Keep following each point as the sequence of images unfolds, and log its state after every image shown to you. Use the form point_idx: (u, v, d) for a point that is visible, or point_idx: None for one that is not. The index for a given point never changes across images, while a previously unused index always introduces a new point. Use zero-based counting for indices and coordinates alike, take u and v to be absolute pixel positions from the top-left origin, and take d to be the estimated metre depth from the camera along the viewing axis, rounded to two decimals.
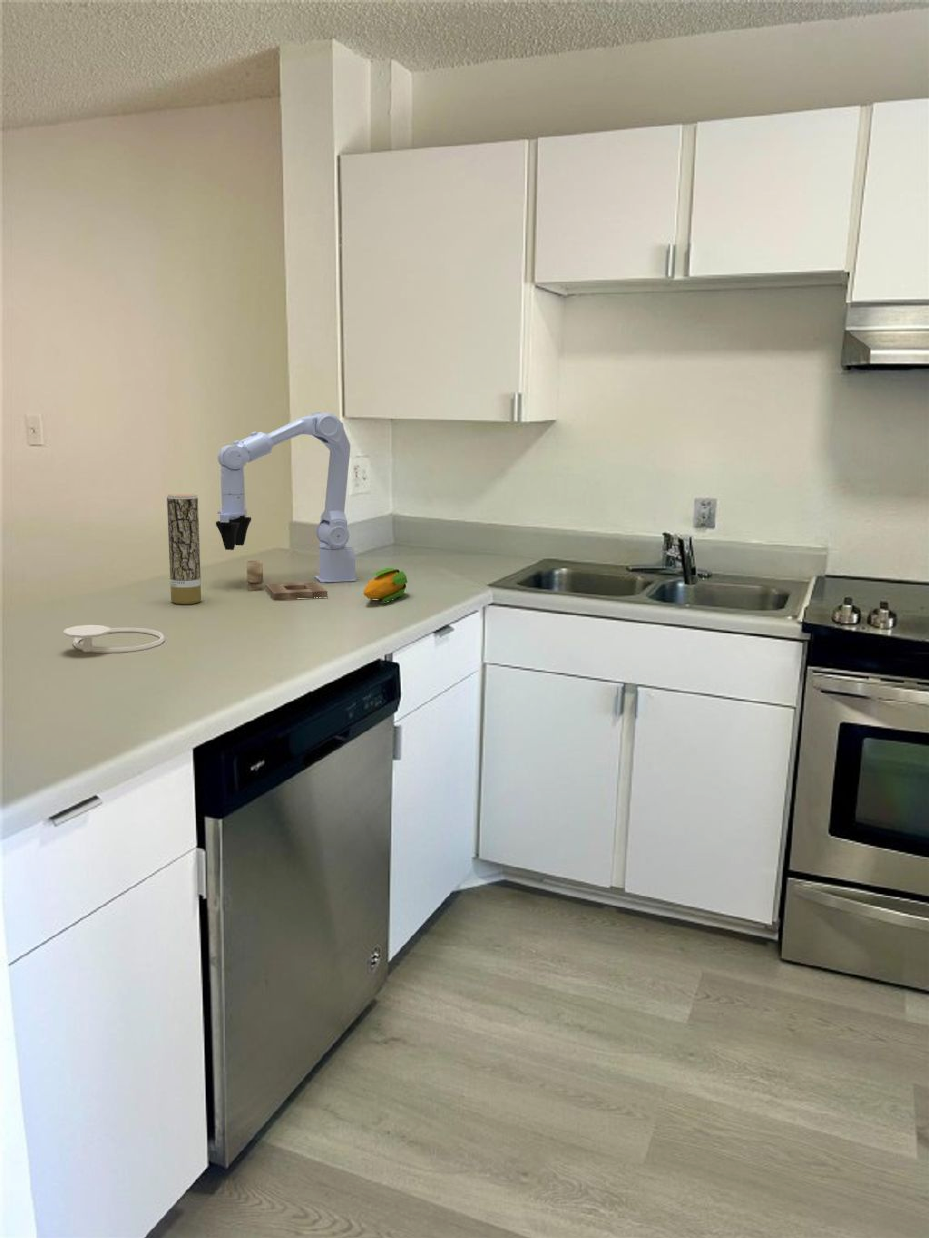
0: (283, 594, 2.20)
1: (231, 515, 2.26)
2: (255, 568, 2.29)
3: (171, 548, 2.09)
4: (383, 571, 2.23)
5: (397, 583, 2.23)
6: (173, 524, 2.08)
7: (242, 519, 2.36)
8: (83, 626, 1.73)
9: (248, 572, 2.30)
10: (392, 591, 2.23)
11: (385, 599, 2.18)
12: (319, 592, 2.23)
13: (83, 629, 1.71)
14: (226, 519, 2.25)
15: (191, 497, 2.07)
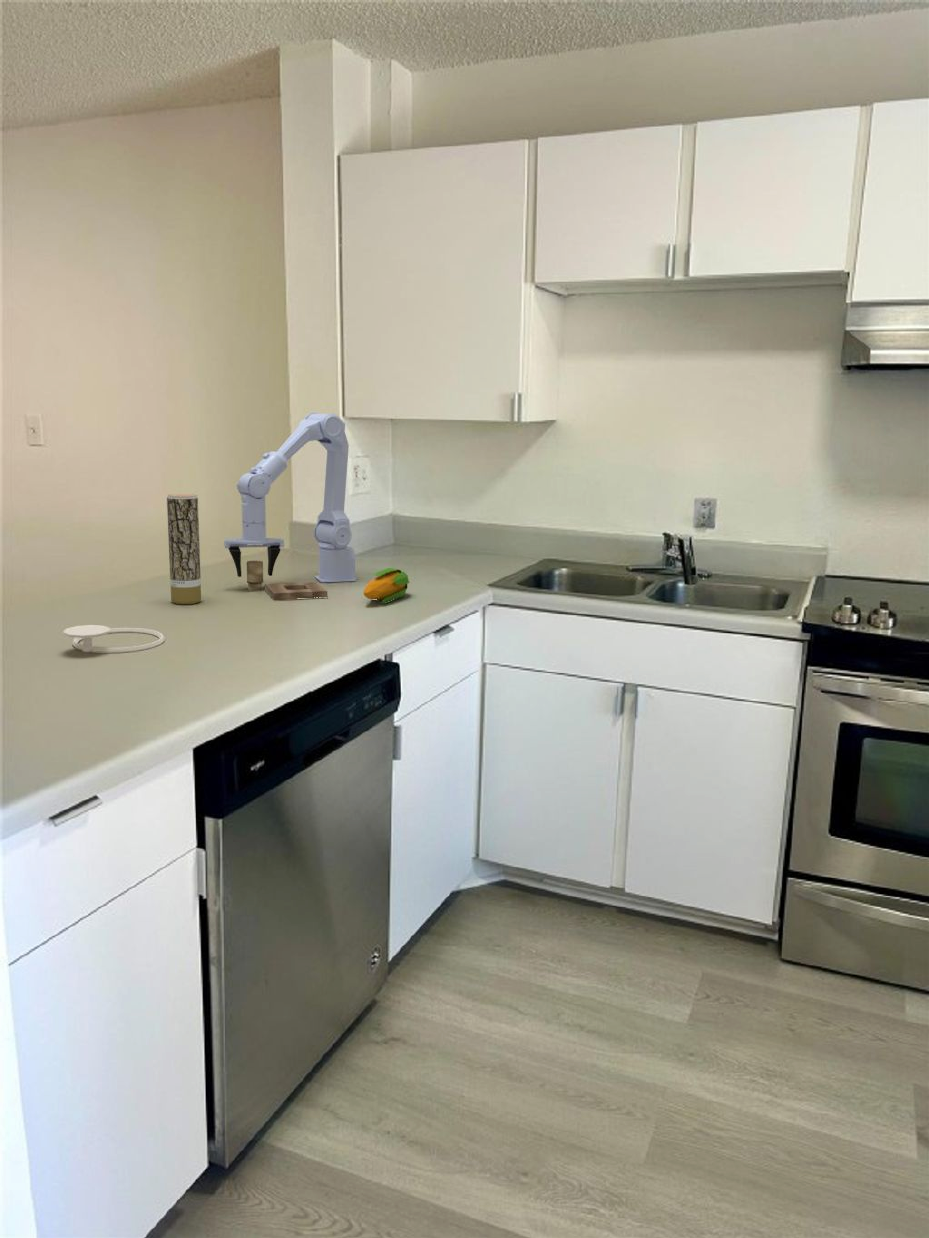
0: (283, 594, 2.20)
1: (233, 542, 2.26)
2: (255, 568, 2.29)
3: (171, 548, 2.09)
4: (384, 571, 2.22)
5: (398, 584, 2.23)
6: (173, 524, 2.08)
7: (269, 549, 2.31)
8: (83, 626, 1.73)
9: (248, 572, 2.30)
10: (392, 591, 2.23)
11: (385, 599, 2.18)
12: (319, 592, 2.23)
13: (83, 629, 1.71)
14: (225, 545, 2.26)
15: (191, 497, 2.07)
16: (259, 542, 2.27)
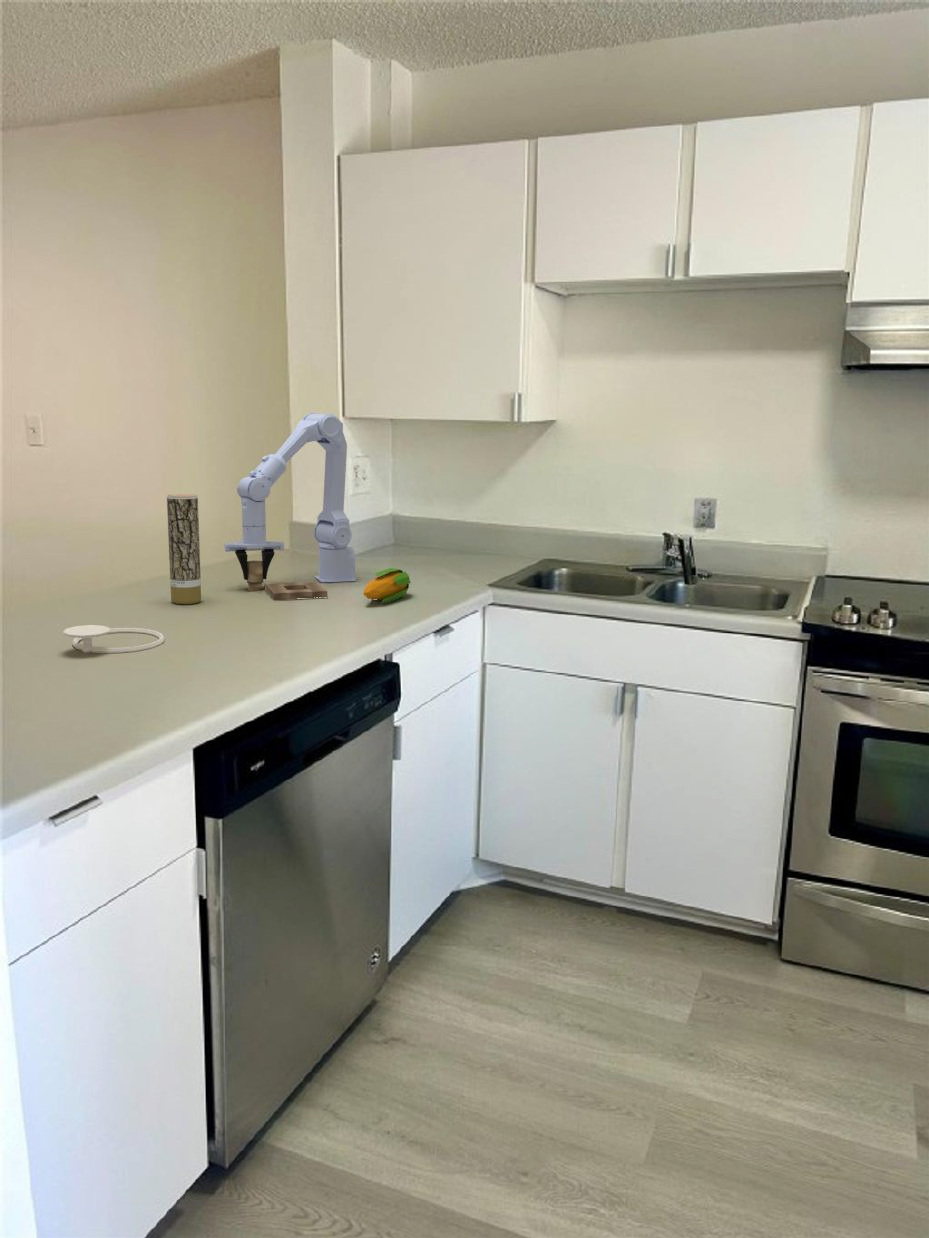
0: (283, 594, 2.20)
1: (233, 545, 2.27)
2: (255, 568, 2.29)
3: (171, 548, 2.09)
4: (385, 571, 2.22)
5: (399, 584, 2.23)
6: (173, 524, 2.08)
7: (264, 552, 2.30)
8: (83, 626, 1.73)
9: (248, 572, 2.30)
10: (393, 592, 2.23)
11: (385, 599, 2.18)
12: (319, 592, 2.23)
13: (83, 629, 1.71)
14: (225, 548, 2.27)
15: (191, 497, 2.07)
16: (259, 545, 2.27)
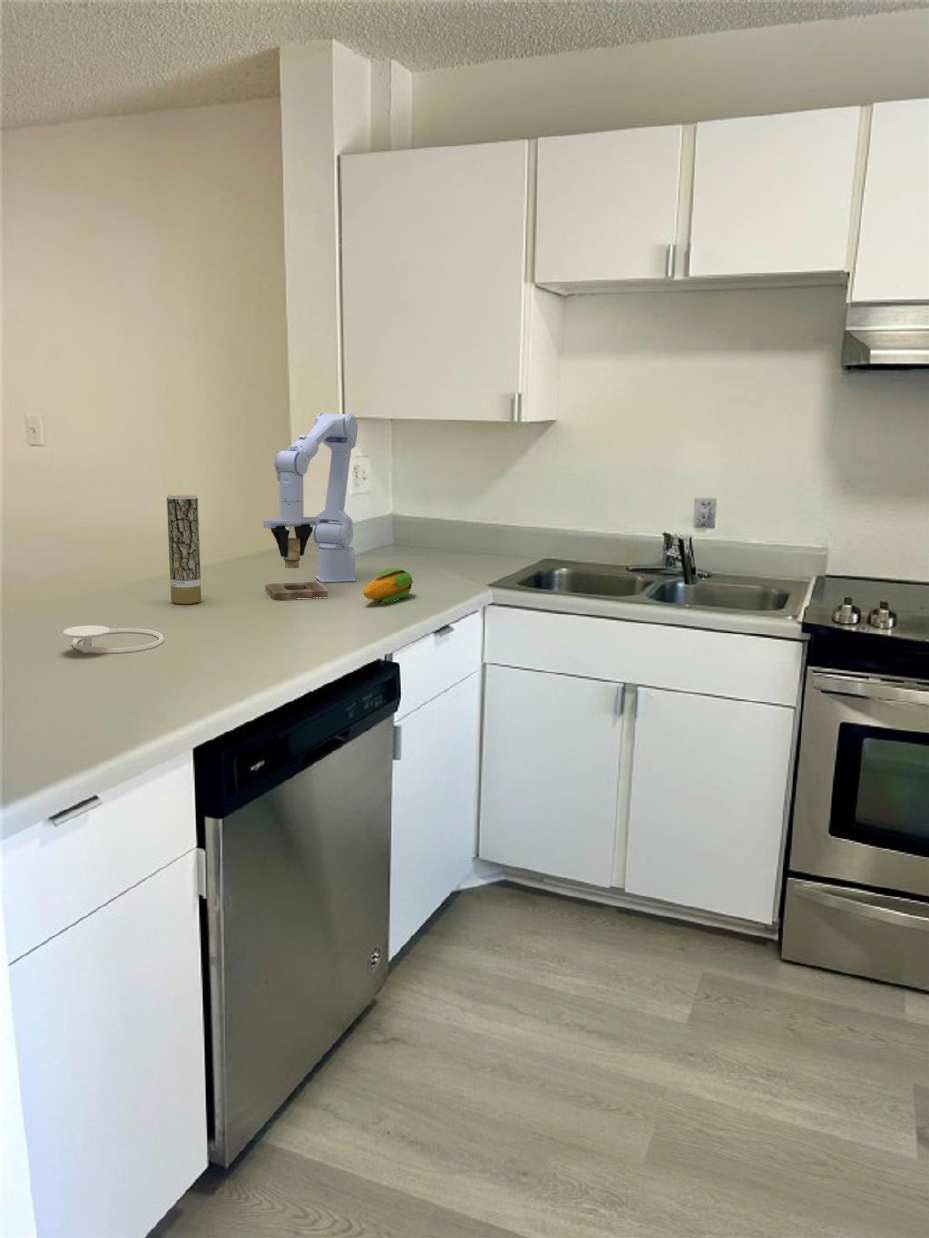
0: (283, 594, 2.20)
1: (274, 522, 2.19)
2: (296, 545, 2.24)
3: (171, 548, 2.09)
4: (386, 572, 2.22)
5: (400, 584, 2.22)
6: (173, 524, 2.08)
7: (301, 528, 2.25)
8: (82, 627, 1.73)
9: None
10: (394, 592, 2.22)
11: (385, 600, 2.18)
12: (319, 592, 2.23)
13: (83, 630, 1.70)
14: (266, 525, 2.19)
15: (191, 497, 2.07)
16: (300, 521, 2.22)
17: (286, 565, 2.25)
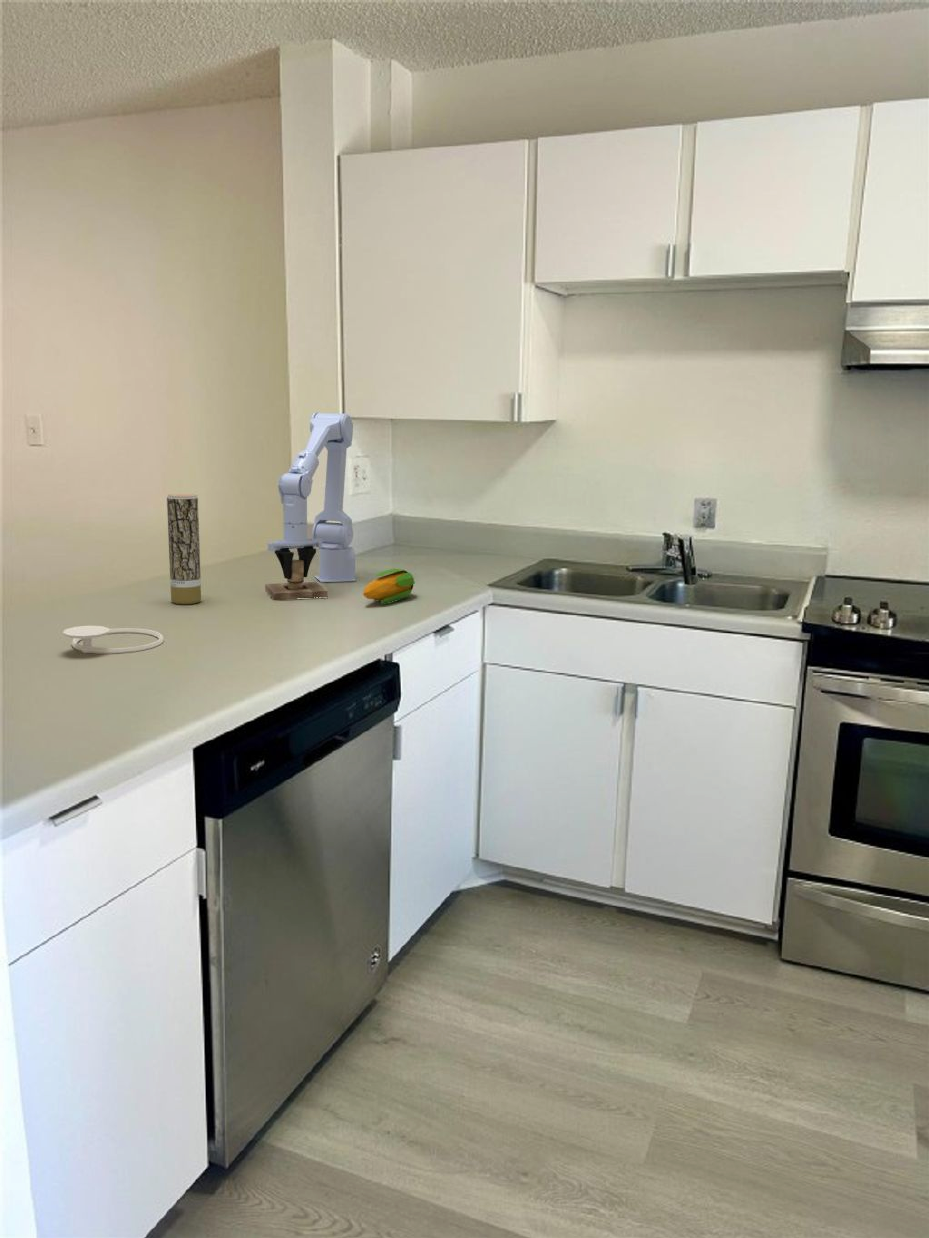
0: (283, 594, 2.20)
1: (279, 544, 2.20)
2: (300, 567, 2.25)
3: (171, 548, 2.09)
4: (387, 572, 2.22)
5: (401, 584, 2.22)
6: (173, 524, 2.08)
7: (305, 550, 2.26)
8: (82, 627, 1.73)
9: None
10: (395, 592, 2.22)
11: (385, 600, 2.18)
12: (319, 592, 2.23)
13: (82, 630, 1.70)
14: (271, 548, 2.19)
15: (191, 497, 2.07)
16: (304, 543, 2.23)
17: (290, 587, 2.26)
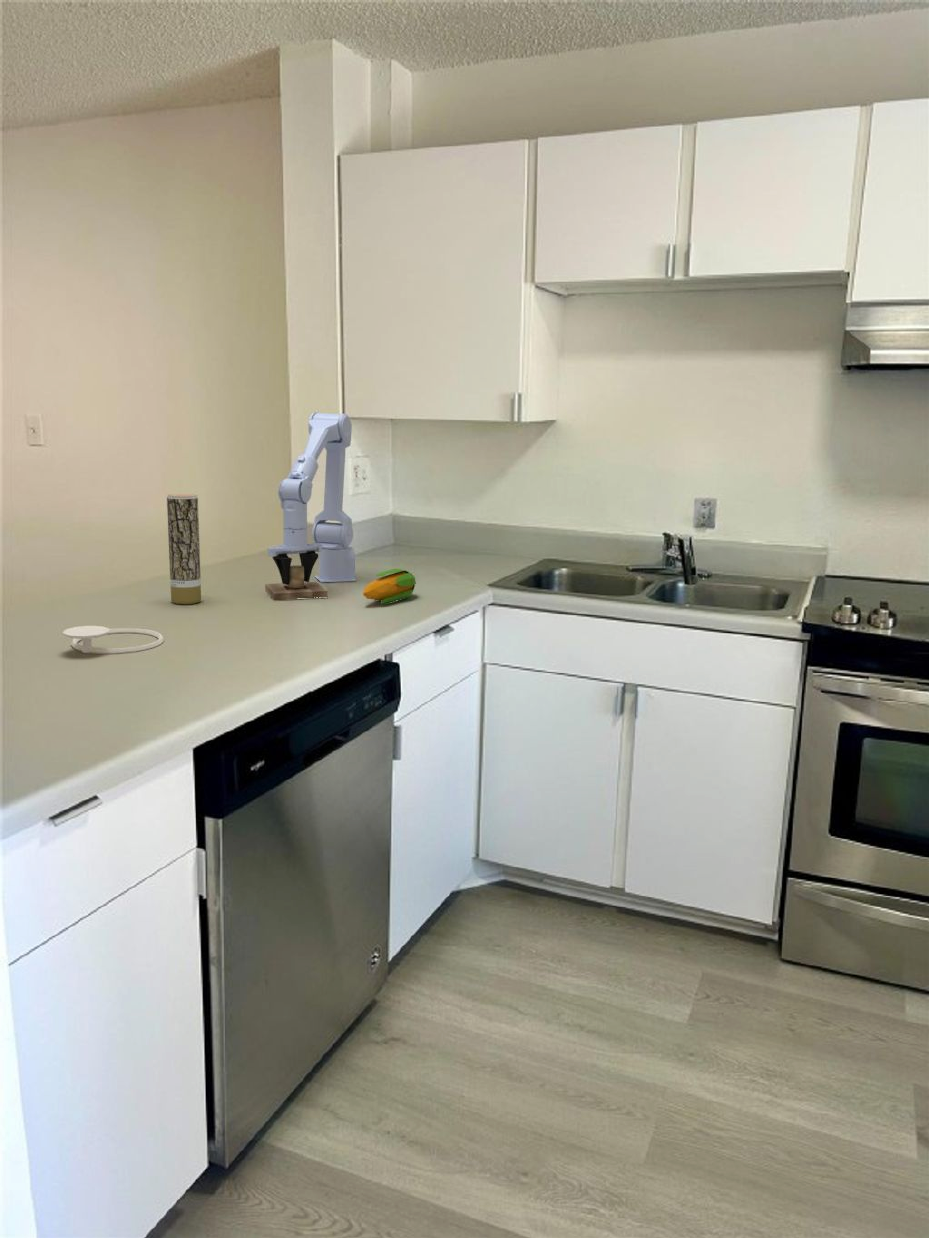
0: (283, 594, 2.20)
1: (279, 549, 2.20)
2: (300, 573, 2.25)
3: (171, 548, 2.09)
4: (387, 572, 2.22)
5: (401, 585, 2.22)
6: (173, 524, 2.08)
7: (307, 555, 2.26)
8: (82, 627, 1.72)
9: (292, 577, 2.25)
10: (395, 592, 2.22)
11: (385, 600, 2.17)
12: (319, 592, 2.23)
13: (82, 630, 1.70)
14: (271, 553, 2.20)
15: (191, 497, 2.07)
16: (304, 548, 2.23)
17: None
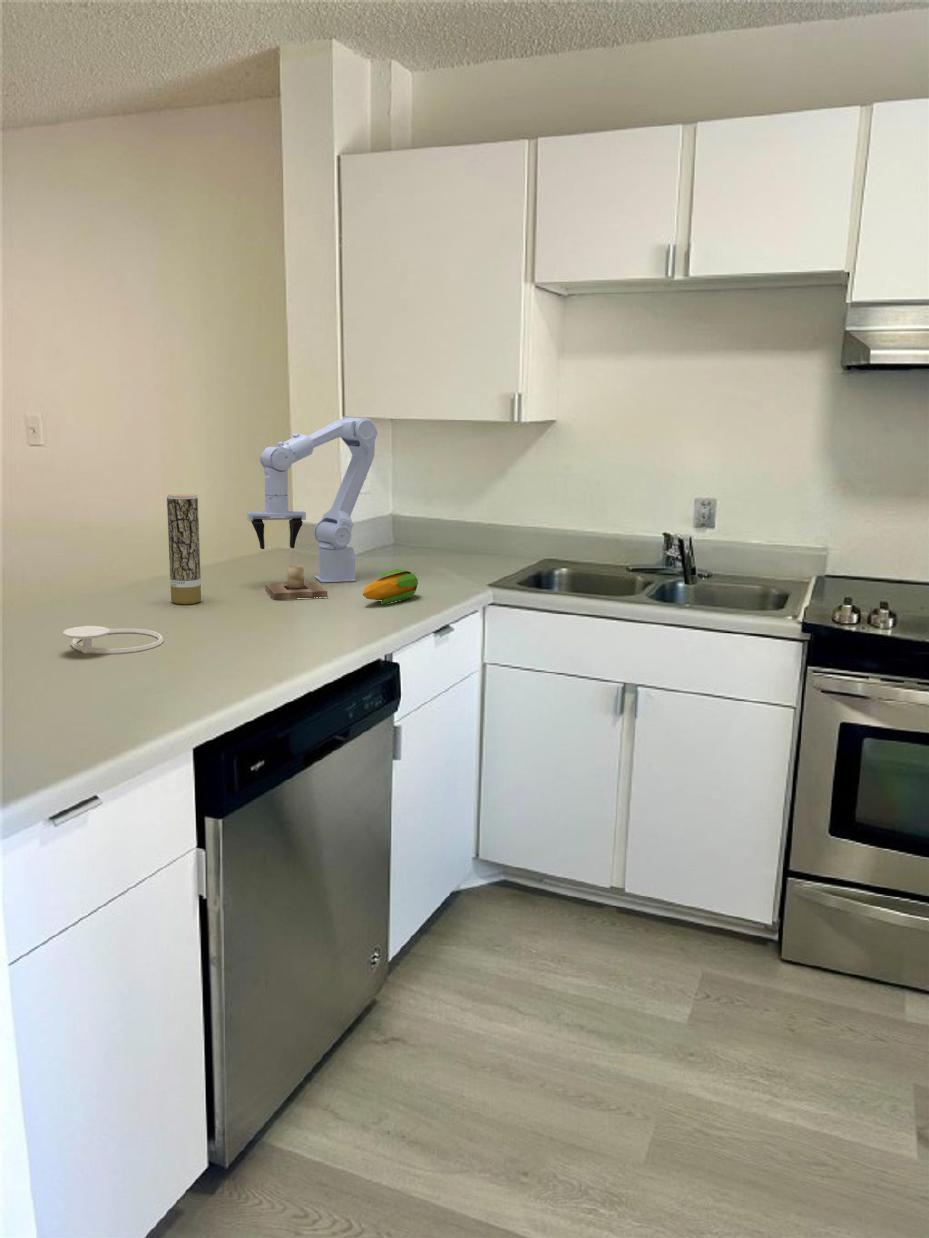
0: (283, 594, 2.20)
1: (256, 514, 2.30)
2: (300, 573, 2.25)
3: (171, 548, 2.09)
4: (389, 572, 2.21)
5: (402, 585, 2.21)
6: (173, 524, 2.08)
7: (292, 522, 2.34)
8: (82, 627, 1.72)
9: (292, 578, 2.25)
10: (396, 593, 2.21)
11: (385, 600, 2.17)
12: (319, 592, 2.23)
13: (82, 630, 1.70)
14: (248, 517, 2.30)
15: (191, 497, 2.07)
16: (282, 514, 2.31)
17: None
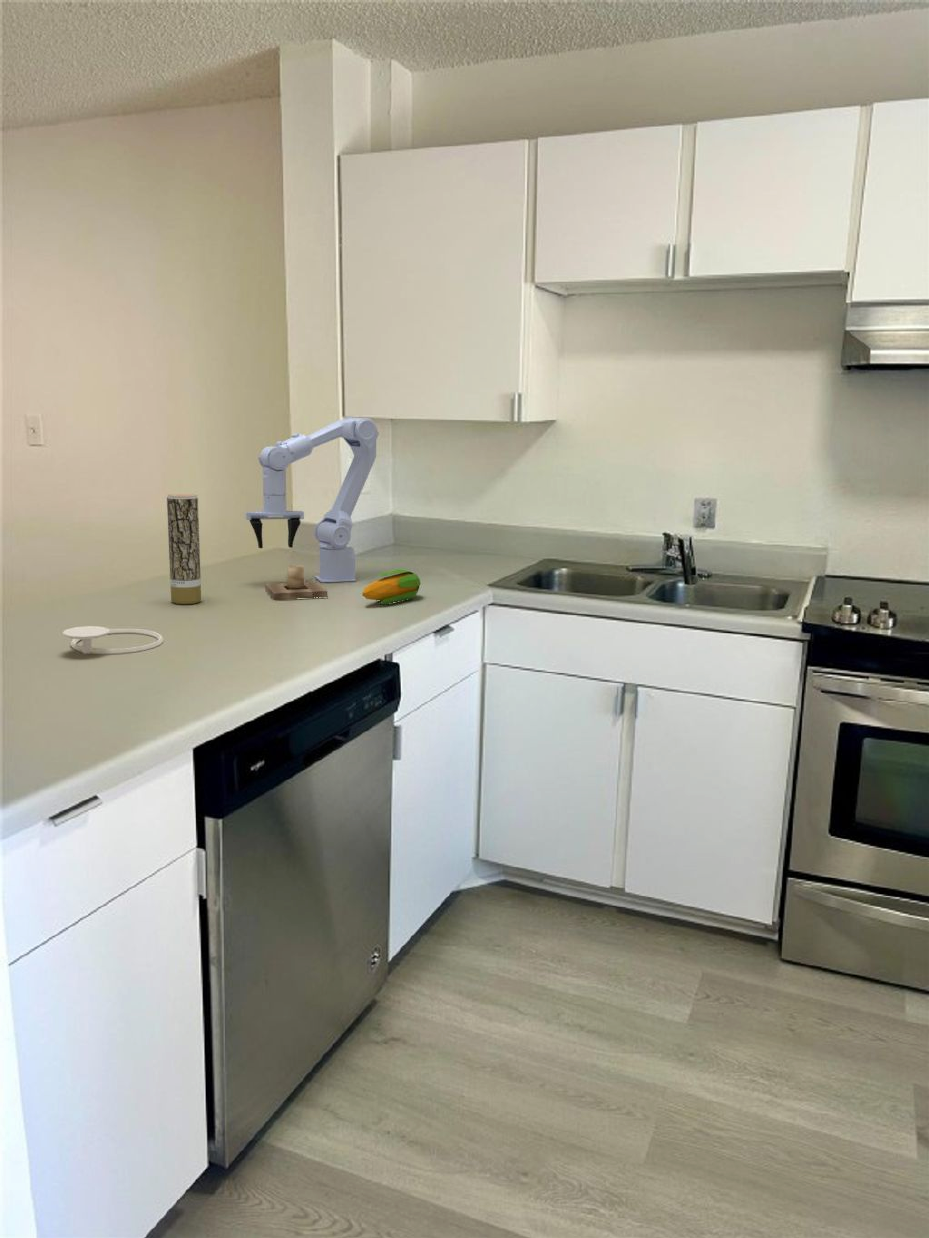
0: (283, 594, 2.20)
1: (254, 514, 2.31)
2: (300, 573, 2.25)
3: (171, 548, 2.09)
4: (390, 572, 2.21)
5: (403, 585, 2.21)
6: (173, 524, 2.08)
7: (290, 521, 2.35)
8: (82, 627, 1.72)
9: (292, 578, 2.25)
10: (397, 593, 2.21)
11: (385, 600, 2.17)
12: (319, 592, 2.23)
13: (82, 630, 1.70)
14: (246, 516, 2.31)
15: (191, 497, 2.07)
16: (280, 514, 2.32)
17: None
